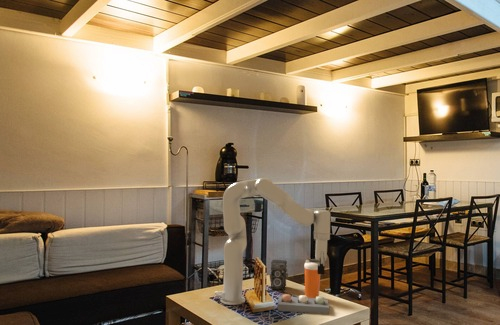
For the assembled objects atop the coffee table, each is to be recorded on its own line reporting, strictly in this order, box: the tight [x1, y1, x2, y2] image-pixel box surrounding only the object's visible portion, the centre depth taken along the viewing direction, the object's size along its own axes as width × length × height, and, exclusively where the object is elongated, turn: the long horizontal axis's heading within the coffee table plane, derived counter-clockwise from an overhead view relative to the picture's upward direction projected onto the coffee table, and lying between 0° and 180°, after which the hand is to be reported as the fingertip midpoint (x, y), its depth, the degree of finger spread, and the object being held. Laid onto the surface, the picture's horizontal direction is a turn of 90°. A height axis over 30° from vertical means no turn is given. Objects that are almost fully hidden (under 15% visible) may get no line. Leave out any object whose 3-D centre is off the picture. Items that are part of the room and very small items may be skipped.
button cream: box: [298, 294, 307, 304], centre depth 198 cm, size 4×4×3 cm
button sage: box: [316, 295, 325, 305], centre depth 197 cm, size 4×4×3 cm
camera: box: [269, 259, 289, 291], centre depth 227 cm, size 10×10×15 cm
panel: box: [277, 295, 330, 315], centre depth 198 cm, size 24×12×3 cm, turn 84°
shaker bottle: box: [303, 257, 322, 298], centre depth 214 cm, size 9×9×20 cm
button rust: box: [282, 293, 292, 303], centre depth 199 cm, size 4×4×3 cm
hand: (320, 273), depth 197 cm, fingers closed
